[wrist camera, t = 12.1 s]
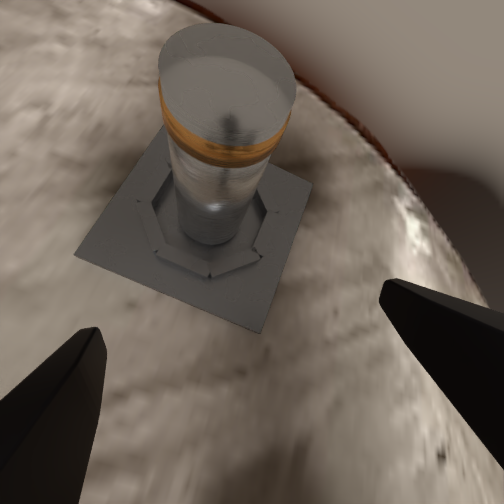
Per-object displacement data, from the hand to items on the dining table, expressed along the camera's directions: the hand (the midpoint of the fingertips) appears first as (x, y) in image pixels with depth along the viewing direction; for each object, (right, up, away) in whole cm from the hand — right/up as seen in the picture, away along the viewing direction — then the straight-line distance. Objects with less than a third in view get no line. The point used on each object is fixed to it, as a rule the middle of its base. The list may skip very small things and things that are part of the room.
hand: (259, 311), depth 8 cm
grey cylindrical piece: (-3, +5, +13) cm, 14 cm away
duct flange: (-4, +5, +13) cm, 14 cm away
